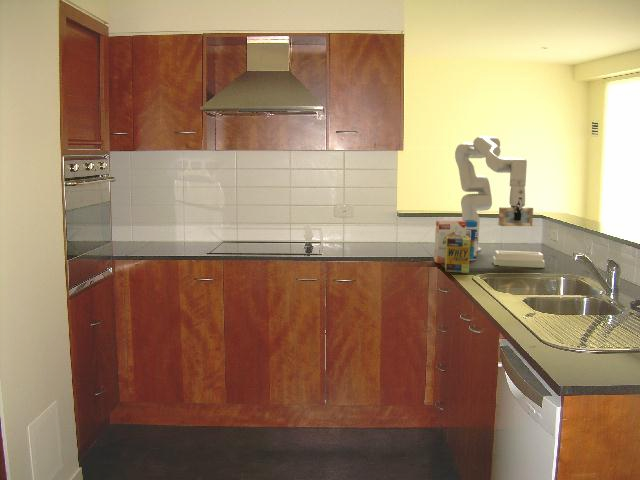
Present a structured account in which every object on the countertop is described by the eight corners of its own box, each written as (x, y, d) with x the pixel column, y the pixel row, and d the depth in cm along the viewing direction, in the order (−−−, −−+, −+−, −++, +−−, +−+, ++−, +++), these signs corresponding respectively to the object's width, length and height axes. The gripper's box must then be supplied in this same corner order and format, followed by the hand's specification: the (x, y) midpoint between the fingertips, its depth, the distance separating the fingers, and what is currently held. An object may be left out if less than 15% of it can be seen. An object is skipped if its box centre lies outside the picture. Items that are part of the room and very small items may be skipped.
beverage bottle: (457, 258, 314) (458, 220, 311) (470, 257, 317) (472, 219, 314) (466, 261, 306) (468, 221, 303) (480, 260, 309) (482, 221, 306)
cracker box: (437, 263, 298) (438, 221, 295) (433, 261, 304) (435, 220, 301) (465, 263, 299) (466, 221, 296) (460, 261, 305) (462, 220, 302)
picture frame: (501, 226, 302) (502, 208, 300) (498, 225, 306) (499, 207, 305) (532, 226, 303) (533, 208, 302) (528, 224, 308) (529, 207, 307)
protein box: (445, 272, 277) (447, 238, 275) (444, 266, 292) (445, 234, 290) (469, 273, 275) (470, 239, 273) (467, 267, 290) (468, 235, 288)
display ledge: (494, 265, 295) (495, 253, 294) (492, 262, 304) (493, 250, 303) (544, 267, 290) (545, 255, 289) (540, 264, 300) (541, 252, 299)
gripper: (531, 184, 293) (529, 221, 296) (519, 182, 310) (517, 218, 313) (515, 184, 293) (513, 221, 296) (504, 182, 310) (502, 218, 313)
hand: (515, 219), depth 304 cm, fingers closed on picture frame, 4 cm apart
